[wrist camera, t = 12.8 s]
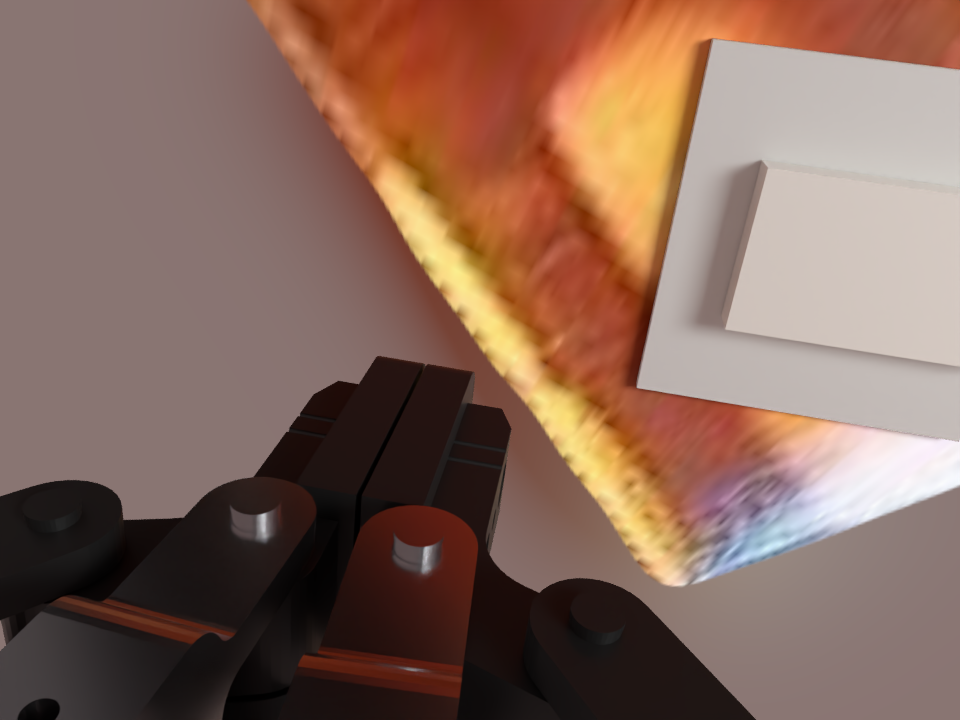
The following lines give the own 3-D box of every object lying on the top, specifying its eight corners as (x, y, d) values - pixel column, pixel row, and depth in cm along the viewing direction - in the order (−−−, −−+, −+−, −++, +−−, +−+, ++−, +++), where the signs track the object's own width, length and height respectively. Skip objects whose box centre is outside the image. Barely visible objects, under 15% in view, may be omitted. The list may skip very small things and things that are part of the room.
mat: (711, 38, 41) (713, 39, 41) (1103, 87, 40) (1112, 89, 39) (636, 381, 50) (636, 387, 49) (953, 434, 48) (958, 441, 48)
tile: (768, 167, 41) (1080, 211, 39) (761, 159, 43) (1059, 200, 41) (725, 329, 45) (1007, 374, 43) (720, 315, 47) (991, 358, 45)
